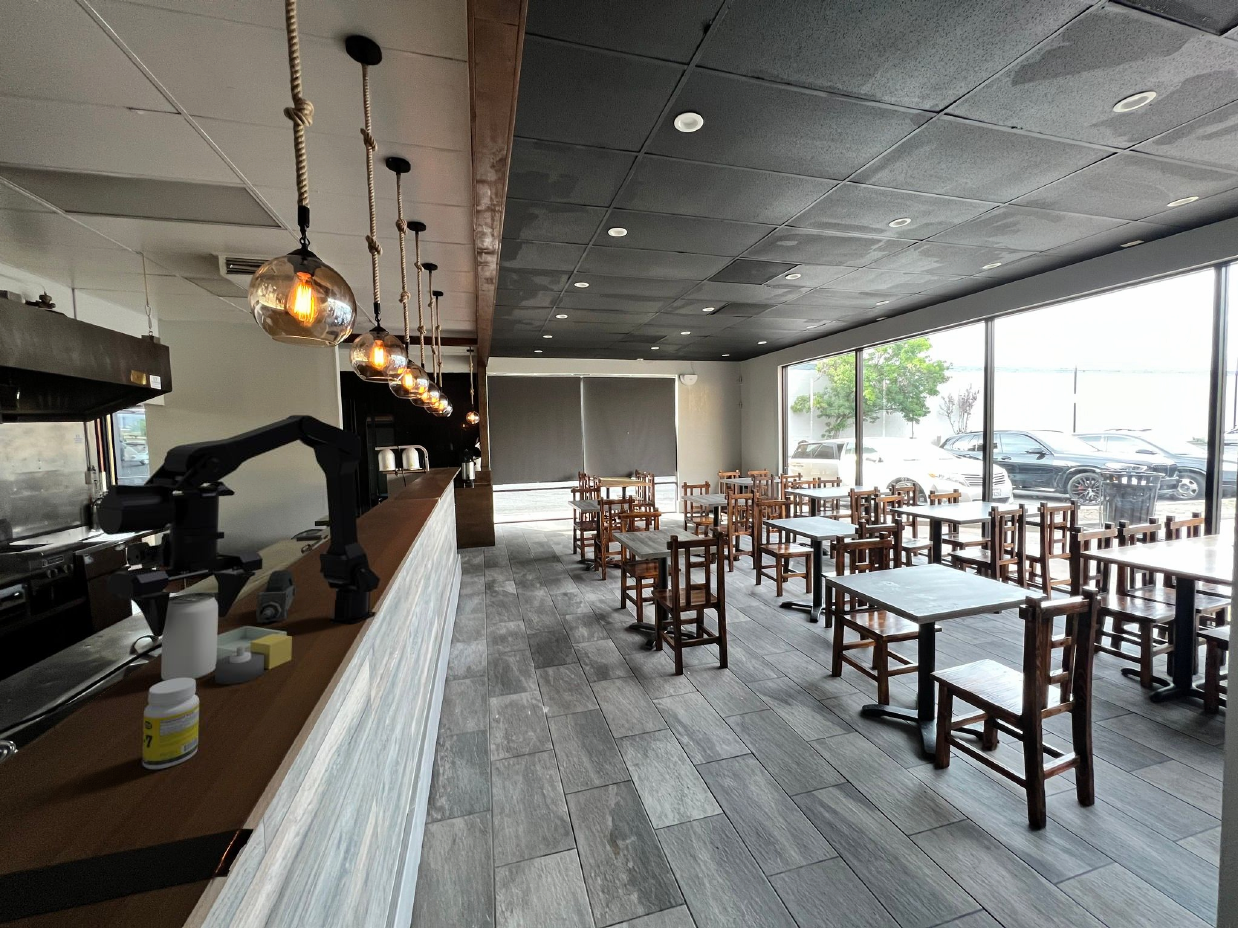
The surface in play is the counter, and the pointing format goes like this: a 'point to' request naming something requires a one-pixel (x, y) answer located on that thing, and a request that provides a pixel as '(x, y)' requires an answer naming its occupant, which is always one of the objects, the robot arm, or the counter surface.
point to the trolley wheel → (239, 667)
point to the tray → (241, 639)
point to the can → (190, 636)
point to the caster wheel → (276, 597)
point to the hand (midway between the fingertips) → (191, 626)
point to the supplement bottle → (170, 723)
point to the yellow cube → (273, 649)
